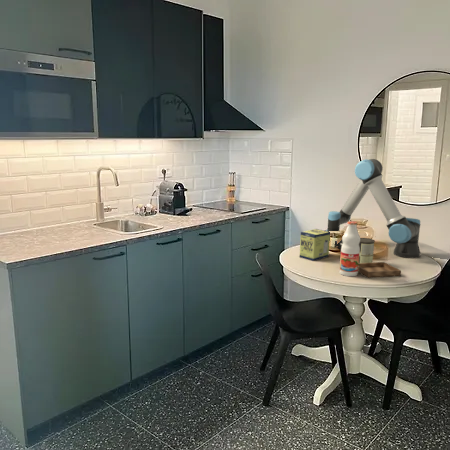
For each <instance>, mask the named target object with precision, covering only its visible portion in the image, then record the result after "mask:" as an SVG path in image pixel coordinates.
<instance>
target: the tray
mask: <svg viewBox="0 0 450 450" xmlns="http://www.w3.org/2000/svg"><path fill="white" fill-rule="evenodd" d="M358 272H359V273H358V274H360V275H362V276H363V277H365V278H367V279H374V278H376V279H377V278H392V277H394V278H395V277H401V276H402V270H401V269H398V268H397V267H395V266H393V265H391V264H389V263H387V262H385V261H379V262H377V261H376V262H372V263H359V265H358Z"/></svg>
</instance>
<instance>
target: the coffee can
mask: <svg viewBox="0 0 450 450" xmlns="http://www.w3.org/2000/svg"><path fill="white" fill-rule="evenodd" d="M375 241H376V240H375V239H372V238H369V237H360V243H359V247H360V253H359V263H374V262H373V259H374V248H375Z"/></svg>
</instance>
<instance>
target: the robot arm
mask: <svg viewBox="0 0 450 450" xmlns="http://www.w3.org/2000/svg"><path fill="white" fill-rule="evenodd" d="M383 168H384V167H383V164H382V163H381V161H380V160H378V159H376V158H370V159H369V158H367V159H362V160H361V161H359V162H358V163H357V164H356V165H355V168H354V174H355V176H356V178H357V179H359V181H358V183H356V186H355V187H354V189H353V191H352V192H351V193H350V195H349V196H348V198H347V199H346V201H345V202H344V204H343V206H342V207H341V209H340V210H339V211H336V210H335V211H334V210H333V211H332V210H331V211H329V212H328V216H327V227H326V228H327V229H326V230H325V231H339V232H340V227H341V225H343V224H347V223H348V221H351V216H352V215H353V213H354V212H355V210H356V209H357V207H358V206H359V204H360V202H361V201H362V200H363V198H364V197H365V196H366V194H367V193H368V191H369V190H370V193H371V194H372V196H373V198H374V200H375V202H376V204H377V205H378V207H379V209H380V211H381V213H382V214H383V217H384V218H385V220H386V222H387V223H386V227H387V229H388V237H389V238H390V240H391V241H392V242H394V243H396V245H395V247H394V249H393V255H394V256H398V257H401V258H405V259H407V258H408V259H414V258H415V259H417V258H420V257H421V251H420V247H419V238H420V228H421V220H420V219H419V218H413V217H406V216H405V215H402V214H401V212H400V210H399V208H398V207H397V205H396V203H395V201H394V200H393V197H392V196H391V194H390V192H389V190H388V189H387V187H386V185H385V183H384V182H383V180H382V178H383V174H382V172H383V170H384V169H383ZM342 244H343V241H342V240H341V241H340V242H339V243H338V244H337V241H335V244H333V245H334V248H337V249H338V250H339V249H340V250H341V247H342Z"/></svg>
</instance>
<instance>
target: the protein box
mask: <svg viewBox="0 0 450 450" xmlns="http://www.w3.org/2000/svg"><path fill="white" fill-rule="evenodd" d="M330 242H331V241H330V232H329V231H326V230H323V229H318V228H314V229H309V230H304V231H300V241H299V258H300V259H301V258H302V259H304V260H309V261H312V262H315V261H318V260H321V259H325V258H328V257H329V256H330Z"/></svg>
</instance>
